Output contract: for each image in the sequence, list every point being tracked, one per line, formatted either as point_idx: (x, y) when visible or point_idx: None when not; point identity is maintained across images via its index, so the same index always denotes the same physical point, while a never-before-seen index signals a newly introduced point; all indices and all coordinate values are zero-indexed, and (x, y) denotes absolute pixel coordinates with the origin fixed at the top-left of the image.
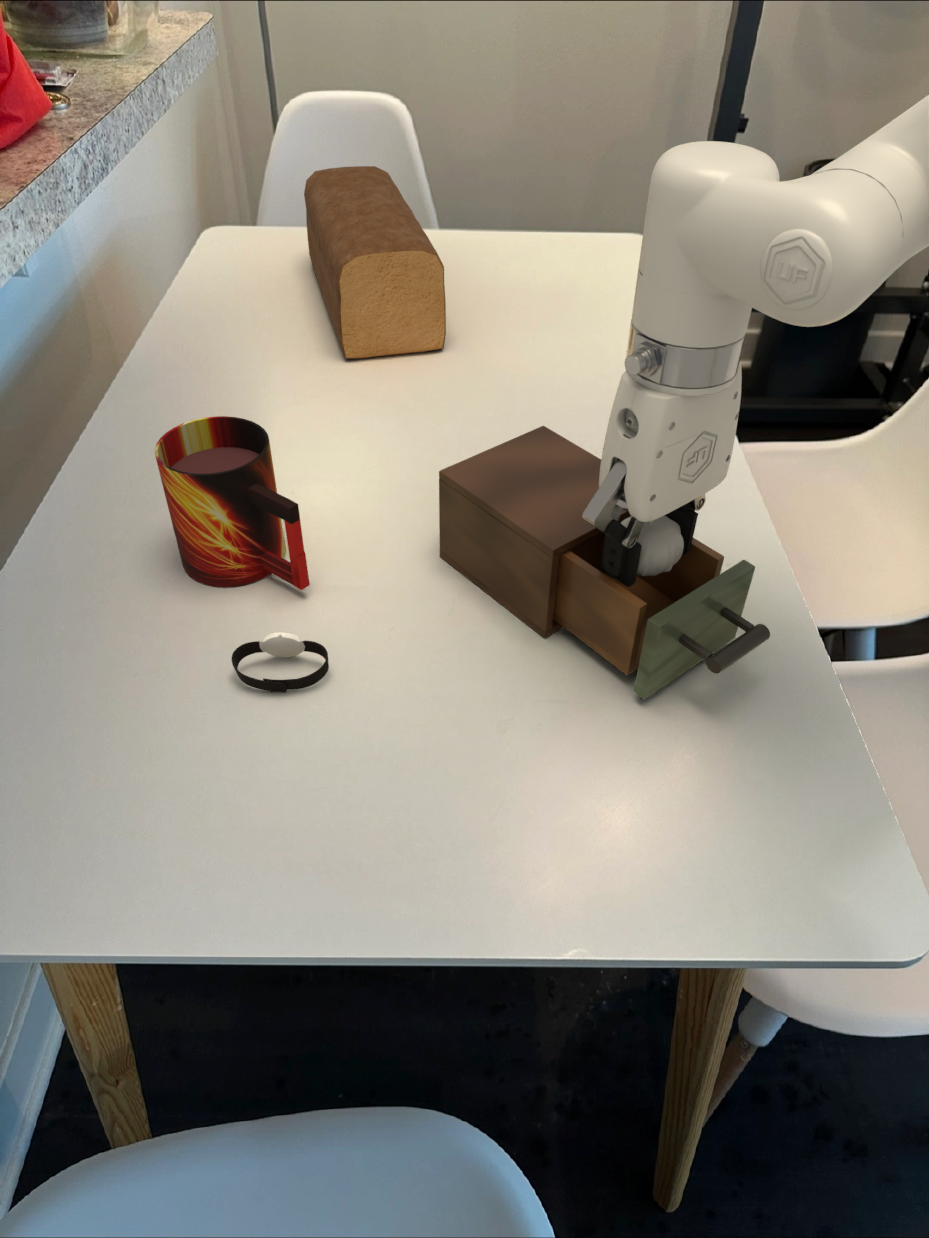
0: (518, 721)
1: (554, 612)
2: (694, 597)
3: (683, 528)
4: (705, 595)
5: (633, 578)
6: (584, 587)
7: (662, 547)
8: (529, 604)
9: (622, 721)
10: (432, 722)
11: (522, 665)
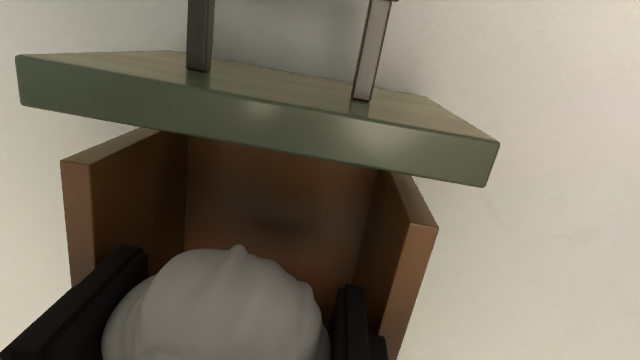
0: (561, 225)
1: None
2: (301, 131)
3: (96, 321)
4: (267, 109)
5: (357, 300)
6: None
7: (256, 332)
8: None
9: (471, 103)
10: (625, 308)
11: (451, 281)
